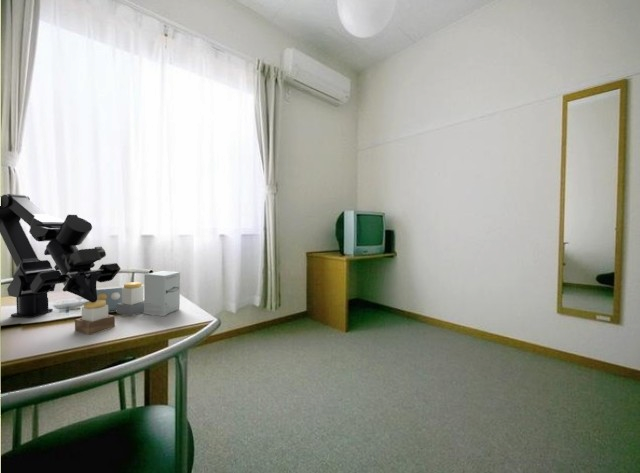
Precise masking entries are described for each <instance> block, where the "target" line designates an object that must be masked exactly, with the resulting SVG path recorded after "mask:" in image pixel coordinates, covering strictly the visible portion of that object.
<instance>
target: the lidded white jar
mask: <svg viewBox="0 0 640 473" xmlns="http://www.w3.org/2000/svg"><path fill="white" fill-rule="evenodd" d="M108 315H109V311H108V305H106V301H105V300H97V301H96V302H93V303H92V302H90V301H85V302H84V303H83V306H82V307H81V318H82V320H85V321H89V322H93V321H97V320H100V319H103V318H107V317H108Z"/></svg>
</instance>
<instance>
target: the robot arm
mask: <svg viewBox="0 0 640 473" xmlns="http://www.w3.org/2000/svg"><path fill="white" fill-rule="evenodd" d="M0 197H1V206H0V236H1V237H2V240H3V241H4V244H5V246H6V247H7V250H8V252H9V254H10V256H11V258H12V261H13V262H14V265H15V266H16V268H15V270H14V273H13V275H12V278H13V279H12V280H11V282H10V284H9V285H8V287H7V288H6V291H7V295H8V296H9V297H13V298H15V299H16V312H15V313H10V317H15V318H16V317H17V318H18V317H20V318H34V317H37V316H40V315H44V314H47V313H49V312H52V311H53V308H49V297H48V293H49V292H54V291H55V288H56V285H58V284H59V285H60V284H62V285H63V286H64V287H63V288H62V291H63V292H67V293H71V294H73V295H76V296H78V297H81V298H82V299H83V300H86V301H87V302H89V301H90V302H92V303H93V302H96V301H97V290H96V289H97V282H98V283H106V282H110V281H112V280H114V278H115V277H116V276H117V275H118V273H119V272H120V271H121V267H120V265H119V264H118V263H115V262H110V263H103V264H101V265H100V266H99V268H98V269H93V270H92V268H94V267H95V266H96V264H95V263H96V262H97V261H101V260H102V259H103V258H105V257H106V256H107V254H106V250H105V249H104V248H103V247H102V246H95V247H94V248H92V247H91V248H82V249H78V247H77V246H80V245H81V244H83V242H84V241H85V240H86V238H87V237H88V235H89V234H90V232H91V231H92V229H93V225H92V223H91V222H89V221H88V220H86V219H85V218H81V217H78V214H67V215H66V218H65V220H63V219H61V218H59V217H56V216H50V214H47V213H46V212H44V210H43V209H41V208H40V207H39V206H38V205H37V204H35V203H34V202H33V201H31V199H30V198H31V197H29V196H27V195H25V194H16V193H7V194H3V195H0ZM21 220H22V221H24V222H25V223H26V224H27V225H28V226H29V234H30V235H31V237H32V238H33V239H34V240H35V241H36V242H48V243H47V245H46V246H45V247H46V248H45V250H44V253H43V254H44V255H45V256H51V258H52V260H53V261H54V263H55V266H54V267H52V264H51V262H50V260H48V259H44V260H41V259H40V258H38V256H37V254H36V251H35V250H34V248H33V246H32V244H31V242H30V240H29V238H28V236H27V234H26V232H25V230H24V228H23V226H22V225H21V222H20V221H21Z"/></svg>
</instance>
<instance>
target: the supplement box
mask: <svg viewBox="0 0 640 473" xmlns="http://www.w3.org/2000/svg"><path fill="white" fill-rule="evenodd" d="M180 293H181V272H180V271H171V270H170V271H169V270H160V271H155V272H150V273H145V274H144V285H143V300H144V312H143V314H145V315H151V316H157V317H165V316H166V315H169V314H170V313H173V312H176V311H178V310H179V309H180V295H181V294H180Z"/></svg>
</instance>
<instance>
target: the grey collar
mask: <svg viewBox="0 0 640 473" xmlns="http://www.w3.org/2000/svg"><path fill="white" fill-rule="evenodd" d="M142 313H144V299H143V302H140V303H137V304H133V305H128V304H123V303H122V302H121V303H117V310H116V314H119V315H123V316H127V317H128V316H130V317H132V316H135V315H139V314H142Z"/></svg>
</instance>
